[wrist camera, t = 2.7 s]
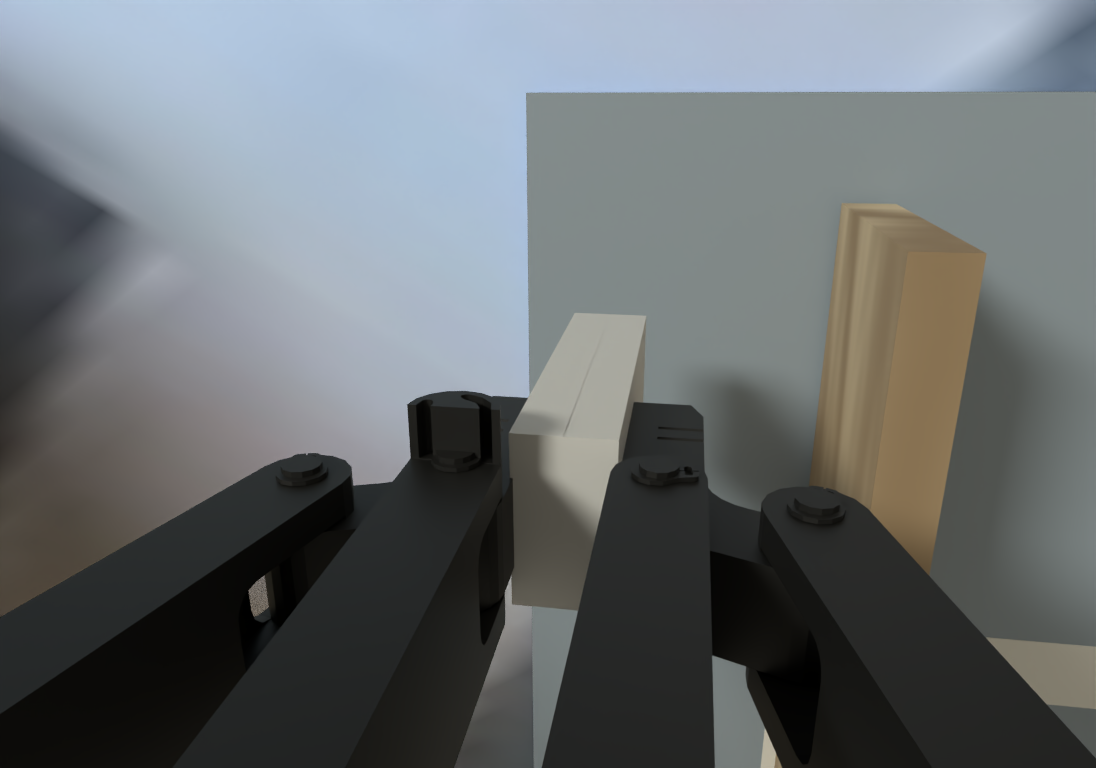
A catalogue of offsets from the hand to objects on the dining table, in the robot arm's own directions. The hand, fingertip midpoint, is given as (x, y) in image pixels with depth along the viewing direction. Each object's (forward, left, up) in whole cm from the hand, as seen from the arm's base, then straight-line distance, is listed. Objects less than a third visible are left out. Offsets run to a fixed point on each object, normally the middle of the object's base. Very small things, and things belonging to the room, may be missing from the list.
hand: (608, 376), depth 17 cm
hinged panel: (+6, -3, -4) cm, 7 cm away
